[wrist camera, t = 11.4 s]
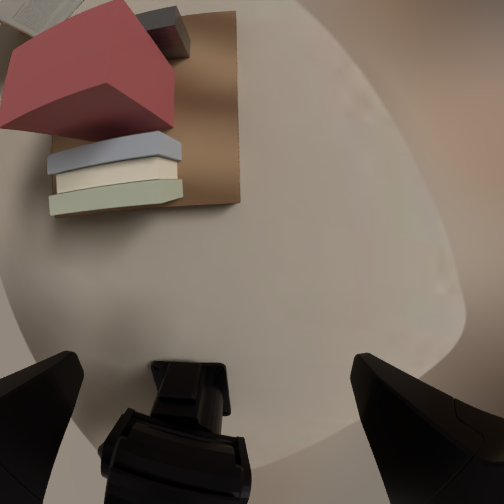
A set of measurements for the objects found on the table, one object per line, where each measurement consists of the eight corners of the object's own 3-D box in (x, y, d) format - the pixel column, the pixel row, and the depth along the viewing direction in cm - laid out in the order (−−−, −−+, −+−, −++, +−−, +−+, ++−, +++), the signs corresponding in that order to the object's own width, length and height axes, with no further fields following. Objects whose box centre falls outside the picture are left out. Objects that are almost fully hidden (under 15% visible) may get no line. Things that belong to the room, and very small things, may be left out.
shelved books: (183, 196, 16) (161, 203, 12) (89, 206, 16) (50, 215, 12) (181, 142, 15) (159, 131, 11) (86, 158, 15) (47, 155, 11)
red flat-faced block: (173, 127, 15) (106, 82, 6) (92, 141, 15) (-3, 128, 6) (174, 71, 14) (121, -3, 5) (95, 89, 14) (12, 50, 5)
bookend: (189, 57, 14) (174, 25, 9) (85, 81, 14) (50, 63, 9) (190, 40, 13) (176, 5, 9) (87, 64, 13) (55, 44, 9)
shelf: (240, 201, 18) (240, 202, 16) (65, 215, 18) (55, 218, 16) (236, 21, 14) (235, 11, 13) (72, 56, 14) (63, 51, 13)
